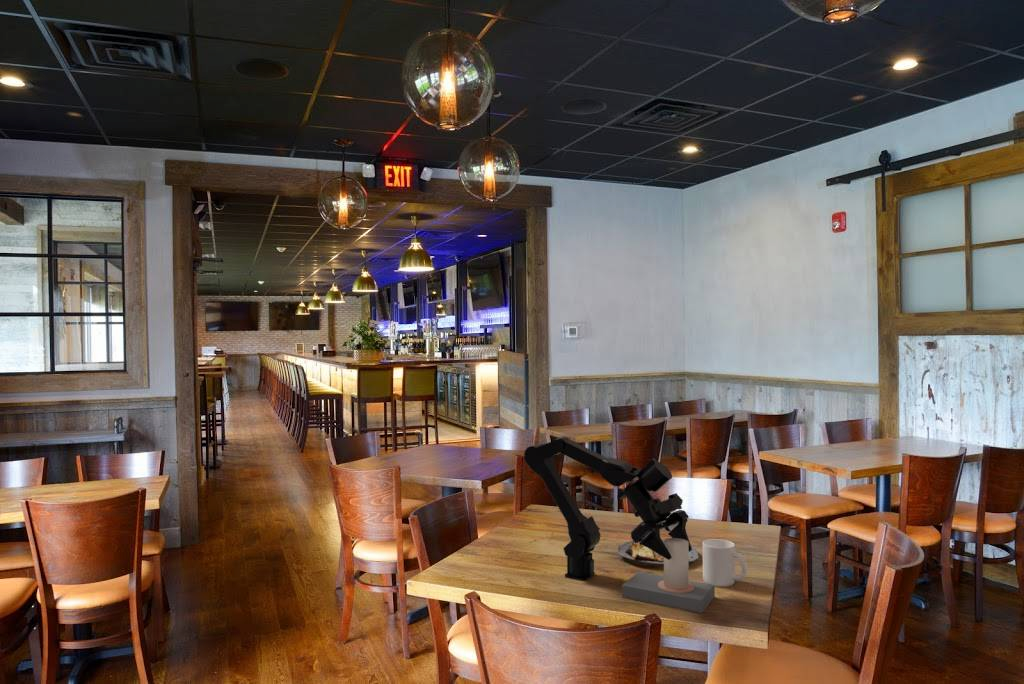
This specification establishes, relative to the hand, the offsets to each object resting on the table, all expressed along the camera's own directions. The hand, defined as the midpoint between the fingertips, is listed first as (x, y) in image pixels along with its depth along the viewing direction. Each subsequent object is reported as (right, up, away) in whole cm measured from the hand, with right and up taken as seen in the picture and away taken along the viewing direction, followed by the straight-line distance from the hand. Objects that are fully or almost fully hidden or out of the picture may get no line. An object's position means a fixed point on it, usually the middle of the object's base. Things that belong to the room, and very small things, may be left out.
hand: (680, 554), depth 168 cm
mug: (+15, -11, +11) cm, 22 cm away
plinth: (-3, -11, +2) cm, 12 cm away
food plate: (+2, -12, +34) cm, 36 cm away
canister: (-1, -8, +1) cm, 8 cm away
